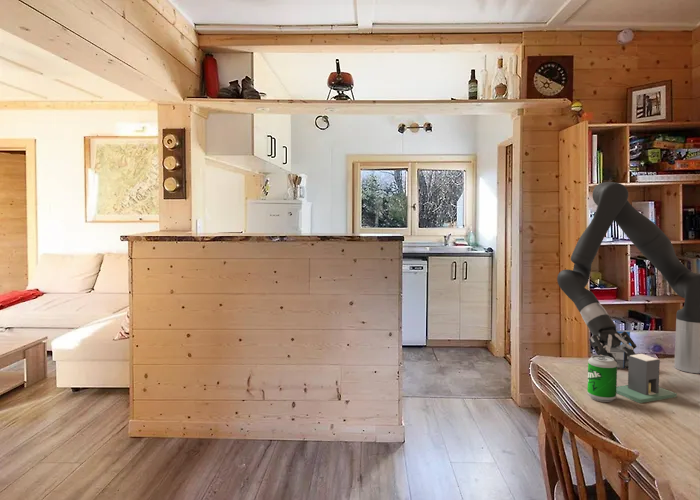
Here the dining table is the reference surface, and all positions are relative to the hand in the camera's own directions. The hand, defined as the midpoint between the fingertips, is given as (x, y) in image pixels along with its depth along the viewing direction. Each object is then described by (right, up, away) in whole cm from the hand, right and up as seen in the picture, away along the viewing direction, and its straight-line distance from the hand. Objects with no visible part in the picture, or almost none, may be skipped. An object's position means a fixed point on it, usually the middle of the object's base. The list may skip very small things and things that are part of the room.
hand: (625, 363), depth 147 cm
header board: (+2, -8, -5) cm, 10 cm away
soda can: (-12, -8, -8) cm, 17 cm away
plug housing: (+2, -7, -5) cm, 9 cm away
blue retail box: (+8, -6, +19) cm, 22 cm away
